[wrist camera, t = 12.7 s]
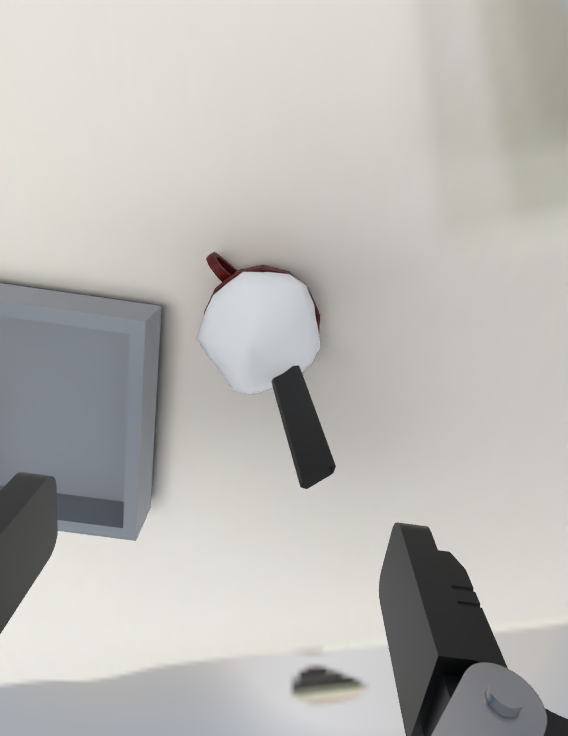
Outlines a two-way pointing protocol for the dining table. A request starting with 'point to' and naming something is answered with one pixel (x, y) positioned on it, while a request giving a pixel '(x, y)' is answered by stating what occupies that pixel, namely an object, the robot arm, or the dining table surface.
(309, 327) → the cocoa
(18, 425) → the tray
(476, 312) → the dining table surface
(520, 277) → the dining table surface
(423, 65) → the dining table surface
